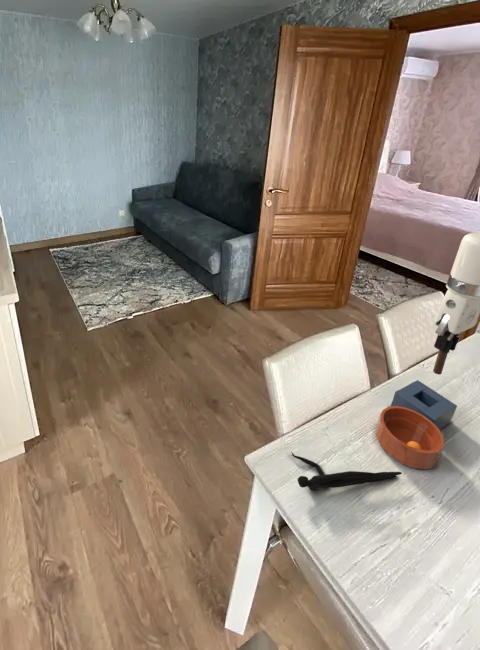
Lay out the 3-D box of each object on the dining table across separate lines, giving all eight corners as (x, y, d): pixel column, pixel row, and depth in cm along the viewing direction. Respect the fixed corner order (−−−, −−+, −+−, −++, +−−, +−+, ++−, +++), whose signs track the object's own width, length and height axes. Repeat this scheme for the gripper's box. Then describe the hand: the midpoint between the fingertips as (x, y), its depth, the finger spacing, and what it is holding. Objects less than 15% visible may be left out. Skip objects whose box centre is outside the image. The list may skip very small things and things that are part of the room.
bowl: (448, 456, 85) (456, 439, 83) (415, 480, 80) (422, 462, 77) (396, 415, 96) (401, 399, 94) (363, 434, 91) (368, 417, 88)
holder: (450, 422, 94) (457, 405, 92) (428, 436, 90) (434, 420, 88) (412, 395, 103) (417, 379, 101) (390, 407, 99) (395, 391, 96)
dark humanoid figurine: (388, 433, 83) (290, 440, 80) (410, 475, 76) (305, 484, 73) (372, 447, 88) (280, 453, 85) (392, 487, 81) (293, 496, 78)
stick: (443, 373, 90) (456, 331, 86) (438, 375, 89) (451, 332, 85) (435, 369, 92) (448, 327, 87) (431, 371, 91) (443, 328, 87)
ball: (426, 451, 82) (423, 457, 84) (417, 437, 85) (415, 443, 87) (412, 453, 83) (410, 459, 84) (404, 439, 85) (402, 445, 87)
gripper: (467, 300, 75) (441, 367, 82) (503, 285, 81) (477, 348, 88) (430, 285, 81) (410, 348, 88) (467, 272, 87) (445, 332, 94)
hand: (444, 348), depth 88 cm, fingers closed on stick, 1 cm apart
